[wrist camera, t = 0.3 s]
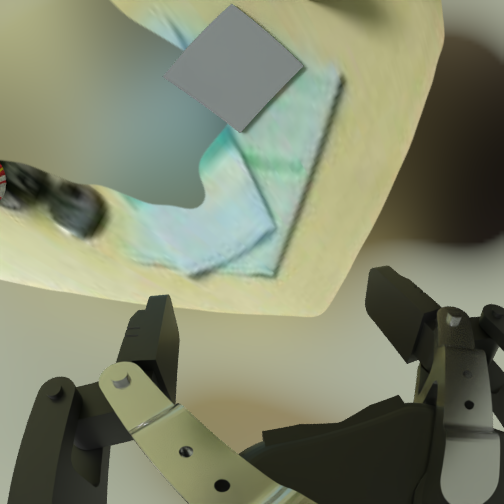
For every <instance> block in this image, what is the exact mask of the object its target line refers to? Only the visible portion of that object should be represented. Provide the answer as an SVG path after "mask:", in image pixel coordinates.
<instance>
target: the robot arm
mask: <svg viewBox="0 0 504 504" xmlns="http://www.w3.org/2000/svg"><path fill="white" fill-rule="evenodd" d="M365 307H366V311H367V313H368V315H369V316H370V317H371V319H372V320H373V321H374V322H375V323H376V325H377V326H378V327H379V328H380V330H381V331H382V332H383V334H384V335H385V336H386V337H387V338H388V340H389V341H390V342H391V344H392V345H393V346H394V347H395V349H396V350H397V351H398V353H399V354H400V355H401V357H402V358H403V359H404V361H405V362H406V363H407V364H408V363H411V362H414V361H416V360H419V361H420V363H419V366H418V369H417V378H416V387H415V395H414V401H413V403H404V402H403V401H402V399H401V397H400V396H399V395H397V396H394V397H392V398H389V399H387V400H383V401H381V402H378V403H375V404H372V405H369V406H368V407H366V408H365V409H363V410H361V411H360V412H358V413H356V414H355V415H353V416H351V417H349V418H347V419H346V420H344V421H342V422H339V423H328V424H299V425H294V426H289V427H284V428H278V429H273V430H267V431H262V436H263V441H262V442H260V443H257V444H255V445H253V446H251V447H249V448H247V449H245V450H244V451H242V452H241V453H239V454H237V453H236V452H235V451H233V450H232V449H231V448H230V447H228V446H227V445H226V444H225V443H224V442H222V441H221V440H220V439H219V438H218V437H216V436H215V435H214V434H213V433H212V432H211V431H210V430H208V429H207V428H206V427H205V426H204V425H203V424H202V423H201V422H200V421H199V420H198V419H197V418H195V417H194V416H193V415H192V414H191V413H190V412H189V411H188V410H187V409H186V408H185V407H184V406H182V405H181V404H179V403H177V404H176V405H175V402H176V382H177V368H178V355H179V331H178V327H177V323H176V318H175V315H174V311H173V306H172V302H171V298H170V296H169V295H158V296H150V297H149V299H148V303H147V306H146V309H145V310H138V311H137V312H136V313H135V314H134V315H133V316H132V317H131V318H130V321H129V324H128V327H127V330H126V333H125V337H124V339H123V342H122V345H121V348H120V351H119V355H118V358H117V361H116V363H115V364H112V365H110V366H109V367H107V368H106V369H105V370H104V371H103V372H102V373H101V375H100V377H99V381H98V382H95V383H92V384H88V385H84V386H80V387H76V386H75V385H74V383H73V382H72V381H71V380H70V379H69V378H66V377H55V378H52V379H50V380H48V381H47V382H45V383H44V384H43V385H42V386H41V388H40V390H39V392H38V394H37V397H36V400H35V402H34V405H33V408H32V411H31V414H30V416H29V419H28V422H27V426H26V429H25V432H24V435H23V438H22V442H21V445H20V449H19V453H18V456H17V460H16V464H15V468H14V472H13V477H12V482H11V486H10V492H9V497H8V503H7V504H107V485H108V483H107V482H108V468H109V457H110V446H111V445H115V444H119V443H124V442H127V441H131V440H134V441H135V442H136V443H137V445H138V446H139V447H140V449H141V450H142V451H143V452H144V454H145V455H146V456H147V458H148V459H149V460H150V461H151V463H152V464H153V465H154V466H155V467H156V469H157V470H158V471H159V472H160V473H161V474H162V476H163V477H164V478H165V479H166V480H167V481H168V483H169V484H170V485H171V486H172V487H173V488H174V489H175V490H176V491H177V492H178V494H179V495H180V496H181V497H182V498H183V499H184V500H185V501H186V502H187V503H188V504H504V432H503V431H500V430H497V429H494V428H493V414H492V411H493V412H494V414H495V415H496V417H497V418H498V420H499V421H500V423H501V424H502V426H503V427H504V372H503V371H502V370H501V368H500V367H499V366H498V365H497V364H496V363H495V362H494V361H493V358H494V356H495V354H496V351H497V349H498V348H499V347H500V348H501V349H502V350H503V351H504V308H502V307H500V306H498V305H493V304H489V305H486V306H484V308H483V310H482V313H481V316H480V317H471V318H469V316H468V315H467V313H465V312H464V311H463V310H461V309H459V308H456V307H451V306H450V307H449V306H447V307H440V305H438V304H437V303H436V302H435V301H434V300H433V299H432V298H431V297H429V296H428V295H427V294H426V293H423V291H422V290H421V289H420V288H419V287H417V285H415V284H414V283H413V282H412V281H411V280H409V279H407V278H405V277H403V276H401V275H399V274H398V273H397V272H396V271H394V270H393V269H392V268H391V267H390V266H382V267H376V268H372V269H371V270H370V272H369V278H368V285H367V292H366V299H365Z"/></svg>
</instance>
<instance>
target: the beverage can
mask: <svg viewBox="0 0 504 504" xmlns="http://www.w3.org/2000/svg"><path fill="white" fill-rule="evenodd" d="M5 189H6V177H5V173H4V170H3V167H2V165H1V164H0V200H1V199H2V198H3V195H4V193H5Z"/></svg>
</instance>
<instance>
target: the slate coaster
mask: <svg viewBox="0 0 504 504" xmlns="http://www.w3.org/2000/svg"><path fill="white" fill-rule="evenodd" d="M302 67H303V65H302V64H301V63H300V62H299V61H298V60H297V59H296V58H295V57H294V56H293V55H292V54H291V53H290V52H289V51H288V50H287V49H286V48H285V47H284V46H282V45H281V44H280V43H279V42H278V41H277V40H276V39H275V38H273V37H272V36H271V35H270V34H269V33H268V32H267V31H265V30H264V29H263V28H262V27H261V26H259V25H258V24H257V23H256V22H255V21H253V20H252V19H251V18H250V17H248V16H247V15H246V14H245V13H243V12H242V11H241V10H239V9H238V8H237V7H235V6H234V5H233V4H231V5H230V6H229V7H227V8H226V9H225V10H224V11H223V12H222V13H221V14H220V15H219V16H218V17H217V18H216V19H215V20H214V21H213V22H212V23H211V24H209V25H208V26H207V27H206V28H205V29H204V31H203V32H202V33H201V34H200V35H199V36H198V37H197V38H196V39H195V40H194V41H193V42H192V43H191V44H190V45H189V46H188V47H187V48H186V50H185V51H184V52H183V53H182V54H181V55H180V56H179V57H178V59H177V60H176V61H175V62H174V63H173V65H172V66H171V67H170V68H169V69H168V70H167V72H166V73H165V74H164V75H163V77H164V78H165V79H167V80H168V81H170V82H171V83H173V84H174V85H175V86H177V87H178V88H180V89H181V90H183V91H184V92H186V93H187V94H188V95H190V96H191V97H193V98H194V99H195V100H197V101H198V102H200V103H201V104H202V105H204V106H205V107H206V108H208V109H210V110H211V111H212V112H213V113H215V114H216V115H217V116H219V117H220V118H222V119H223V120H224V121H225V122H226V123H228V124H229V125H230V126H232V127H233V128H234V129H236V130H237V131H238V132H239V133H241V132H242V130H243V129H244V128H245V127H246V126H247V125H248V124H249V123H250V121H251V120H252V119H253V118H254V117H255V116H256V115H257V114H258V113H259V112H260V111H261V109H262V108H263V107H264V106H265V105H266V104H267V103H268V102H269V101H270V100H271V99H272V98H273V97H274V96H275V95H276V93H277V92H278V91H279V90H280V89H281V88H282V87H283V86H284V85H285V84H286V83H287V82H288V81H289V80H290V79H291V78H292V77H293V76H294V75H295V74H296V73H297V72H298V71H299V70H300V69H301V68H302Z"/></svg>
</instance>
